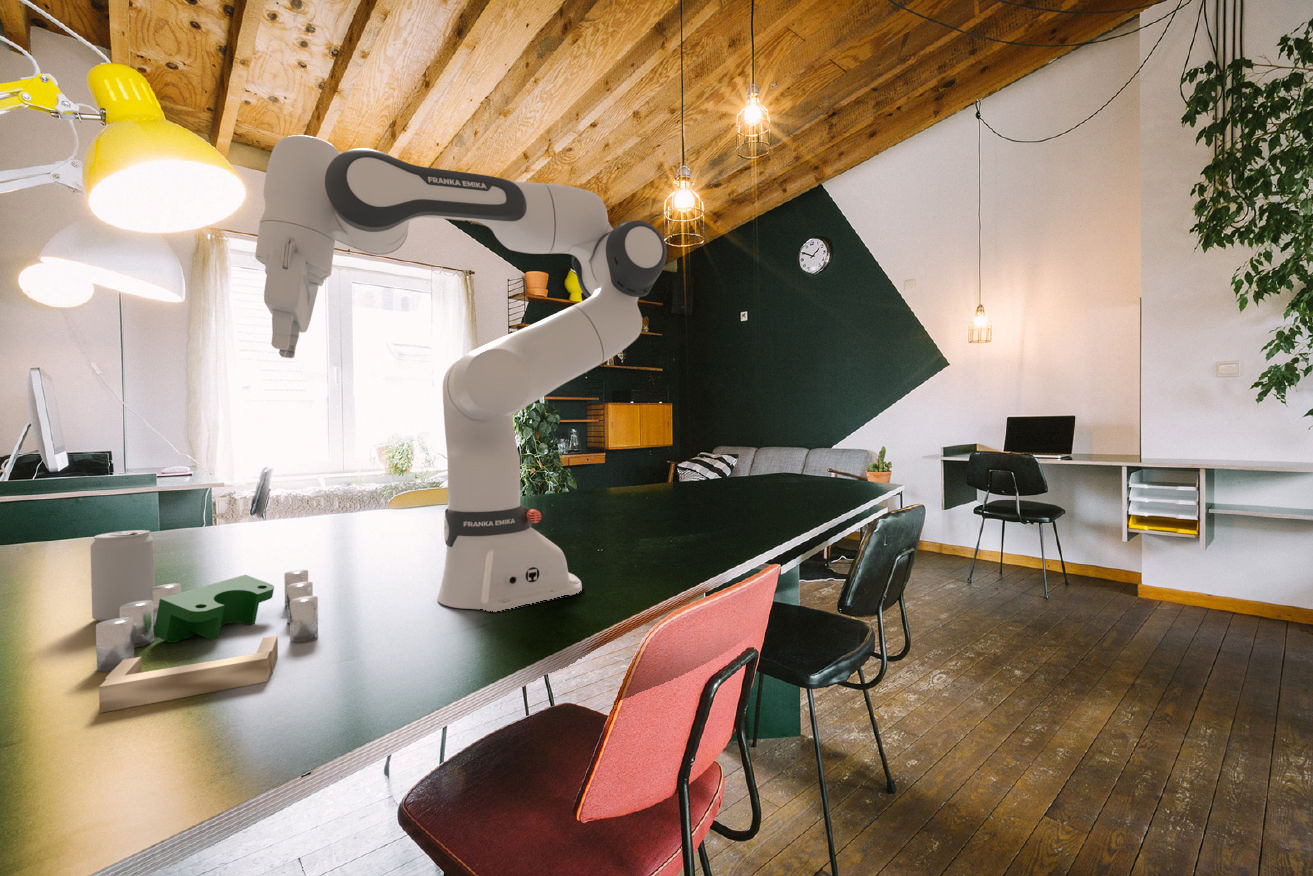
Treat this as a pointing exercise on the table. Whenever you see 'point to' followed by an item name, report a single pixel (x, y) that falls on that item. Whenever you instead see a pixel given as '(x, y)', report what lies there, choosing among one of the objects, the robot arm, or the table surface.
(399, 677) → the table surface
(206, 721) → the table surface
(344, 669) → the table surface
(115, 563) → the beverage can
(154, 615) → the spacers
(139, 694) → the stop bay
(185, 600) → the clamp
